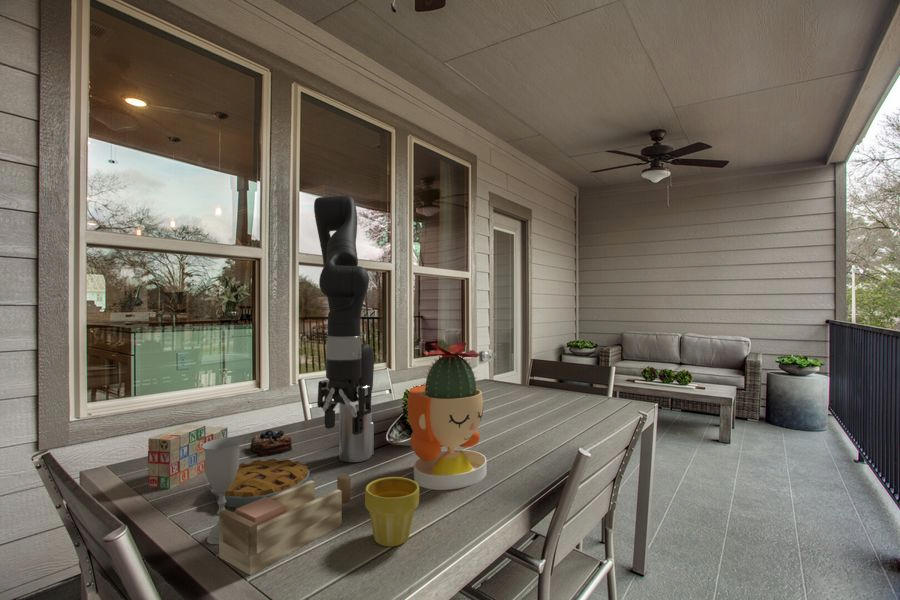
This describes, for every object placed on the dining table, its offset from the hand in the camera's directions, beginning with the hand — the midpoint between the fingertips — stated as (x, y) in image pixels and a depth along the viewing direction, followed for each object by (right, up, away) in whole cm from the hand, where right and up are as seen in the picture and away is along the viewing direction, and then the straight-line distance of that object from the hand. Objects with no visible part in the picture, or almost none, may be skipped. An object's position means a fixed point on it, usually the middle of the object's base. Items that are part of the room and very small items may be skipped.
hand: (343, 430), depth 97 cm
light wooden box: (-8, -17, -13) cm, 23 cm away
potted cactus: (+22, -18, +22) cm, 35 cm away
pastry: (-32, -18, +40) cm, 54 cm away
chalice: (-21, -17, -11) cm, 29 cm away
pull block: (-6, -15, -9) cm, 19 cm away
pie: (-22, -18, +10) cm, 30 cm away
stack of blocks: (-46, -18, +22) cm, 54 cm away
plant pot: (+12, -17, -11) cm, 24 cm away
